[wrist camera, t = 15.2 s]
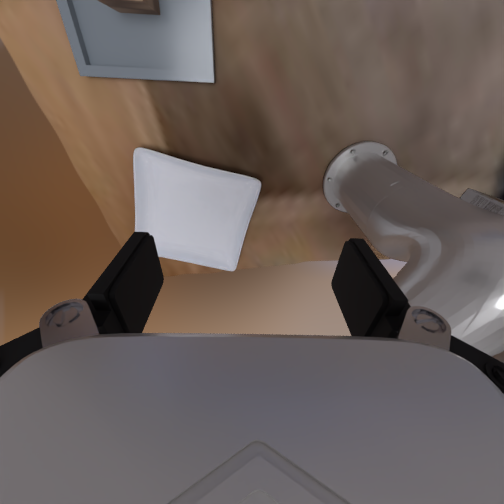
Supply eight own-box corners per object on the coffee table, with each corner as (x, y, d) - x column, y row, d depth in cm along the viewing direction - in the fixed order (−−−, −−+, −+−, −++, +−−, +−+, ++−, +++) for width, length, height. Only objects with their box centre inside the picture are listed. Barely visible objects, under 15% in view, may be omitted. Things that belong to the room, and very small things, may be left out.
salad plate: (139, 141, 38) (130, 145, 35) (262, 174, 42) (263, 181, 39) (140, 243, 50) (134, 253, 47) (236, 262, 54) (235, 272, 51)
